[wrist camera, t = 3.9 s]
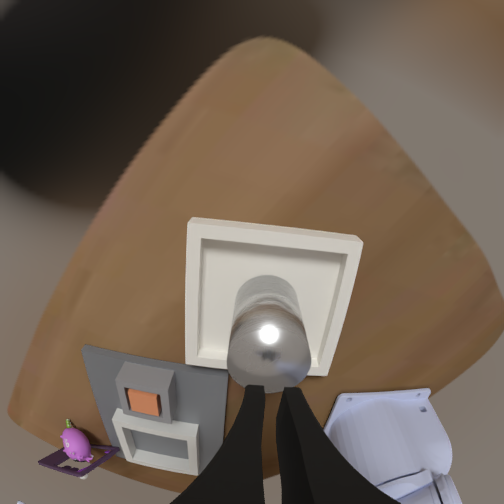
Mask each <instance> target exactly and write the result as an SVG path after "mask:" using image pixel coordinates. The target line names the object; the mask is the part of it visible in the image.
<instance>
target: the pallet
mask: <svg viewBox="0 0 504 504" xmlns="http://www.w3.org/2000/svg"><path fill="white" fill-rule="evenodd" d="M81 351H82V355H83V359H84V363H85V366H86V370H87V374H88V377H89V381H90V384H91V387H92V391H93V394H94V397H95V400H96V403H97V406H98V409H99V412H100V415H101V418H102V421H103V423H104V426H105V429H106V432H107V434H108V437H109V439H110V442H111V444H112V446H114V447H119V449H120V451H118V452H117V453H116V456H118V457H121V458H125V459H126V460H127V461H129V462H133V463H137V464H141V465H145V466H149V467H154V468H158V469H163V470H168V471H173V472H179V473H184V474H190V475H197V476H198V474H201V472H202V471H203V470H204V469H205V468H206V466H207V465H208V464H209V462H210V461H211V460H212V458H213V457H214V456H215V454H216V453H217V451H218V450H219V448H220V447H221V445H222V444H223V435H224V422H225V410H226V398H227V386H228V375H229V372H228V370H224V369H215V368H208V367H200V366H193V365H186V364H180V363H173V362H167V361H161V360H156V359H150V358H145V357H140V356H135V355H130V354H125V353H120V352H116V351H111V350H107V349H103V348H98V347H94V346H90V345H86V344H85V345H84V347H83V348H82V349H81ZM129 388H130V389H134V390H139V391H144V392H149V393H154V394H159V395H160V397H161V405H162V408H161V411H160V414H159V416H155V415H150V414H146V413H141V412H137V411H132V409H131V404H130V400H129V395H128V390H129Z"/></svg>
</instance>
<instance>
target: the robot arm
mask: <svg viewBox="0 0 504 504" xmlns="http://www.w3.org/2000/svg"><path fill="white" fill-rule="evenodd" d="M430 393H431V391H430V389H429V388H424V389H414V390H403V391H389V392H371V393H343V394H340V395H339V396H338V397H337V399H336V401H335V404H334V406H333V409H332V411H331V413H330V416H329V418H328V420H327V423H326V425H325V427H324V429H322V427H321V426H320V424H319V422H318V421H317V419H316V417H315V416H314V414H313V412H312V410H311V409H310V407H309V405H308V403H307V401H306V399H305V397H304V395H303V393H302V390H301V389H300V388H298V387H284V390H283V394H282V398H281V402H280V406H279V410H278V413H277V417H276V443H277V451H278V460H279V468H280V476H281V486H282V504H462V501H461V499H460V497H459V494H458V492H457V490H456V487H455V485H454V483H453V480H452V478H451V476H450V475H447V473H448V472H449V469H450V467H451V462H452V447H451V443H450V440H449V438H448V436H447V434H446V432H445V430H444V428H443V426H442V424H441V423H440V420H439V418H438V417H437V415H436V413H435V411H434V409H433V407H432V405H431V404H430V402H429V400H428V397H429V395H430ZM348 398H349V399H348ZM264 408H265V390H264V386H263V385H250V384H249V385H247V386H246V387H245V394H244V399H243V402H242V405H241V408H240V410H239V413H238V415H237V417H236V420H235V422H234V424H233V426H232V428H231V430H230V431H229V433H228V435H227V437H226V439H225V440H224V442H223V444H222V445H221V447H220V448H219V450H218V451H217V453H216V454H215V456H214V457H213V458H212V460H211V461H210V462H209V464H208V465H207V466H206V468H205V469H204V470H203V471H202V472H201V474H200V475H199V476H198V477H197V478H196V479H195V480H194V481H193V482H192V483H191V484H190V485H189V486H188V488H187V489H186V490H184V491H183V492H182V493H181V494H180V495H179V496H178V497H177V498H176V499H175V500H173V502H171V503H170V504H265V500H264V489H263V473H262V454H261V439H262V428H263V418H264ZM17 504H25V503H23V502H22V501H18V502H17Z"/></svg>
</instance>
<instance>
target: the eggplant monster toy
mask: <svg viewBox="0 0 504 504" xmlns="http://www.w3.org/2000/svg"><path fill="white" fill-rule="evenodd" d="M69 420H70V419H69ZM69 420H68V419H66V424H67V429H65V430H64V431H63V434H62V435H61V436H60V437H61V438H63V443H64V447H63V448H61V449H60V450H58V451H56V452H54V453H52V454H51V455H49V456H47V457H45V458H43V459H41V460H39V461H38V463H39V465H42V466H45V467H48V468H51V469H54V470H57V471H60V472H63V473H66V474H69V475H73V476H77V477H79V478H81V479H86V478H87V477H88V473H89V472H90V471H92V470H94V469H95V468H96V467H97V466H99V465H100V464H102V463H103V462H105V461H106V460H108V459H109V458H110V457H112V456H113V455H114V454H116V453H117V452H118V451H120V449H119V447H114V446H104V445H95V444H90V443H89V440H88V438H87V437H86V436H85V434H84V433H83V432H81V431H80V430H78V429H76V428H71V425H70V424H71V423H70V422H69ZM91 448H98V449H107V450H108V451H105V453H107V454H106V455H104V456H103V457H101V458H100V459H98V460H97V461H96V462H94V463H93V464H91V465H90V466H88V467H86V468H84V469H81V470H79V471H78V468H71V467H70V466H64V467H58V466H57V465H59V464H61V463H62V462H64V461H66V460H67V459H69V458H71V459H73V460H74V461H77V462H86V461H87V462H89V460H92V459H93V457H94V456H93V455H92V454H91ZM109 450H111V451H109ZM90 456H92V458H89V457H90ZM85 460H86V461H85ZM70 468H71V469H70Z"/></svg>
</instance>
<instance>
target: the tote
mask: <svg viewBox="0 0 504 504" xmlns="http://www.w3.org/2000/svg"><path fill="white" fill-rule="evenodd" d="M362 247H363V241H361V240H360V239H359V238H358V237H357V236H356V235H349V234H341V233H333V232H325V231H317V230H309V229H300V228H292V227H283V226H274V225H265V224H256V223H247V222H237V221H228V220H218V219H208V218H197V217H192V218H191V220H190V221H189V222H188V226H187V249H186V286H185V354H186V364H190V365H197V366H204V367H212V368H220V369H227V354H228V347H229V340H230V333H231V326H232V319H233V311H234V304H235V298H236V294H237V292H238V290H239V289H240V287H241V286H242V285H243V284H244V283H245V282H246V281H248V280H249V279H251V278H253V277H256V276H261V275H273V276H277V277H280V278H282V279H284V280H286V281H287V282H288V283H290V284H291V285H292V287H293V288H294V290H295V292H296V294H297V298H298V302H299V306H300V310H301V314H302V318H303V323H304V327H305V331H306V335H307V340H308V344H309V348H310V353H311V358H312V360H311V367H310V370H309V372H308V374H307V375H314V376H327V374H328V371H329V368H330V365H331V362H332V359H333V356H334V353H335V349H336V346H337V343H338V340H339V336H340V333H341V329H342V326H343V323H344V319H345V315H346V312H347V308H348V304H349V301H350V297H351V293H352V289H353V285H354V281H355V277H356V273H357V269H358V265H359V260H360V256H361V251H362Z"/></svg>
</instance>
